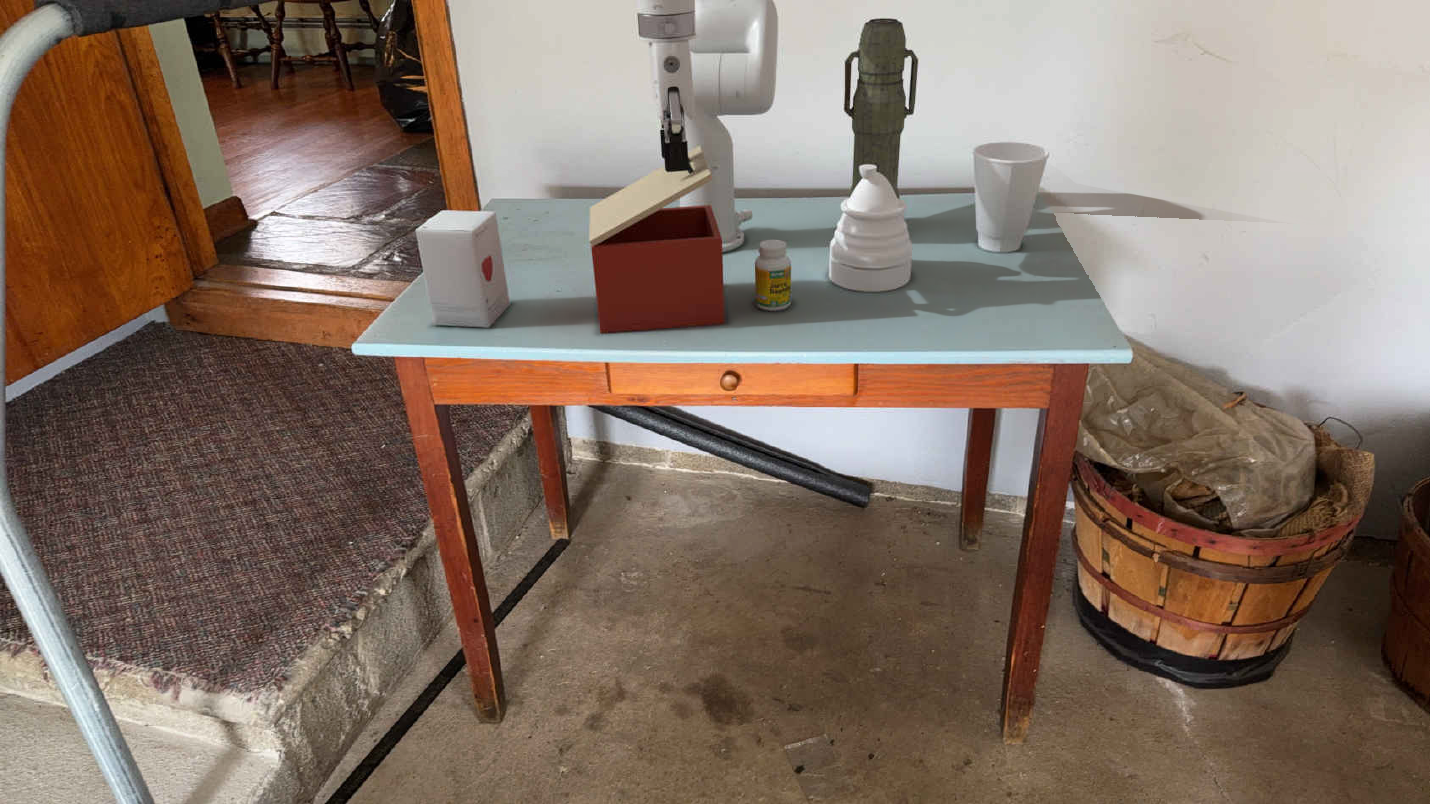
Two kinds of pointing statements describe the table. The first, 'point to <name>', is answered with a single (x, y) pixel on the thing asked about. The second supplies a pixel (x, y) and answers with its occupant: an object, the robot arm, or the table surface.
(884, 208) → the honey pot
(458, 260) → the rectangular carton
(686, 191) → the lid
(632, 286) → the red open box
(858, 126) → the olive green vase
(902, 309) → the table surface
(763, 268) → the supplement bottle
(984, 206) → the cup
